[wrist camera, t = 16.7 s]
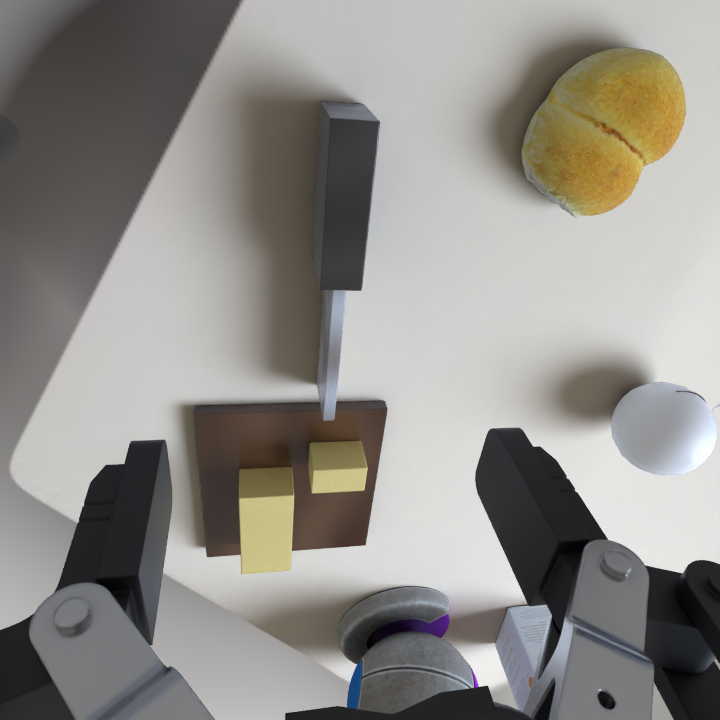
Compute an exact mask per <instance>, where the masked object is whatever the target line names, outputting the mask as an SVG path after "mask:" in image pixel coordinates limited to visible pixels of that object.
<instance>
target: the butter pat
mask: <svg viewBox="0 0 720 720" xmlns="http://www.w3.org/2000/svg"><path fill="white" fill-rule="evenodd" d="M308 467H309V476H310V484H311V492H312V493H330V492H348V491H364V489H365V482H366V475H367V469H368V468H367V464H366V460H365V455H364V451H363V447H362V443H361V441H340V442H313V443H310V446H309V461H308Z"/></svg>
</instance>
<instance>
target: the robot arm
mask: <svg viewBox="0 0 720 720" xmlns="http://www.w3.org/2000/svg"><path fill="white" fill-rule="evenodd" d="M475 481H476V488H477V492H478V495H479V497H480V499H481V502H482V504H483V506H484V508H485V510H486V513H487V515H488V517H489V519H490V521H491V524H492V526H493V528H494V530H495V532H496V535H497V537H498V539H499V541H500V543H501V546H502V548H503V550H504V552H505V554H506V557H507V559H508V561H509V563H510V565H511V568H512V570H513V572H514V574H515V577H516V579H517V581H518V583H519V585H520V588H521V590H522V592H523V594H524V596H525V599H526V601H527V603H528V605H529V607H530V606H539V605H547V607H548V609H549V611H550V613H551V615H550V617H549V619H548V622H547V625H546V630H545V634H544V638H543V642H542V646H541V650H540V654H539V659H538V663H537V667H536V671H535V675H534V679H533V683H532V687H531V691H530V694H529V697H528V700H527V702H526V705H525V707H524V710H523V712H521V711H519V710H517V709H514V708H512V707H510V706H507V705H503V704H500V703H496V702H493V700H492V697H491V694H490V691H489V688H488V686H483V687H475V688H468V689H461V690H453V691H446V692H440V693H438V694H436V695H434V696H432V697H430V698H427V699H425V700H423V701H421V702H419V703H417V704H415V705H413V706H410V707H408V708H406V709H404V710H402V711H400V712H397V713H393V714H387V713H381V712H374V711H367V710H360V709H354V708H347V707H340V706H336V707H328V708H321V709H314V710H306V711H299V712H292V713H286V714H285V720H652V703H653V685H654V683H655V685H656V687H657V689H658V690H659V692H660V694H661V696H662V698H663V700H664V702H665V704H666V706H667V708H668V709H669V711H670V713H671V715H672V717H673V719H674V720H720V670H719V668H718V667H717V665H716V663H715V662H714V660H715V659H717V660H718V662H719V663H720V564H717V563H714V562H711V561H706V560H698V561H694V562H692V563H690V564H689V565H688V566H687V568H686V569H685V571H684V572H683V574H682V573H678V572H673V571H668V570H663V569H659V568H654V567H649V566H646V565H644V563H643V562H642V561H641V559H640V558H639V557H638V556H637V555H636V554H635V553H634V552H632V551H631V550H630V549H628V548H627V547H625V546H623V545H621V544H619V543H616V542H614V541H610V540H608V539H607V537H606V536H605V534H604V533H603V531H602V530H601V528H600V527H599V525H598V523H597V522H596V520H595V519H594V517H593V516H592V514H591V513H590V511H589V510H588V508H587V507H586V505H585V504H584V502H583V500H582V499H581V497H580V496H579V494H578V493H577V492H575V488H574V487H573V485H572V484H571V482H570V480H569V479H567V478H566V474H565V473H564V471H563V470H562V468H561V467H560V465H559V464H558V462H557V460H555V459H554V458H553V457H552V456H551V455H549V454H548V453H547V452H546V451H545V450H544V449H542V448H541V447H533V446H532V444H531V443H530V441H529V440H528V438H527V436H526V435H525V433H524V432H523V430H522V429H520V428H495V429H490V430H489V431H488V433H487V436H486V439H485V443H484V446H483V449H482V453H481V456H480V459H479V463H478V466H477V469H476V476H475ZM171 510H172V484H171V476H170V468H169V460H168V452H167V444H166V441H165V440H147V441H131V443H130V445H129V448H128V452H127V456H126V460H125V464H118V465H105V467H104V468H103V469H102V470H101V471H100V472H99V473H98V475H97V476H96V477H95V478H94V479H93V480H92V481H91V483H90V486H89V489H88V492H87V495H86V498H85V502H84V506H83V508H82V511H81V514H80V517H79V523H78V524H77V527H76V530H75V534H74V537H73V540H72V543H71V546H70V549H69V552H68V556H67V559H66V562H65V565H64V568H63V572H62V575H61V578H60V581H59V584H58V586H57V589H56V590H55V592H54V594H52V595H51V596H50V597H48V598H47V599H46V600H45V601H44V602H43V603H42V604H41V605H40V606H39V607H38V609H37V610H36V612H35V613H34V614H33V615H31V616H30V617H28V618H27V619H25V620H23V621H21V622H19V623H17V624H15V625H12V626H10V627H8V628H5V629H2V630H0V720H215V719H214V718H213V716H212V715H211V714H210V712H209V711H208V710H207V708H206V707H205V706H204V704H203V703H202V702H201V700H200V699H199V698H198V696H197V695H196V694H195V692H194V691H193V690H192V688H191V687H190V686H189V684H188V683H187V682H186V680H185V679H184V678H183V677H182V675H181V674H180V673H179V672H178V671H177V670H176V669H175V668H173V667H171V666H170V667H169V668H168V667H166V666H165V665H164V664H163V663H162V662H161V661H160V659H159V658H158V657H157V655H156V654H155V653H154V651H153V650H152V648H151V647H150V646H149V645H152V643H153V636H154V629H155V622H156V614H157V608H158V602H159V595H160V588H161V580H162V574H163V567H164V560H165V553H166V546H167V539H168V532H169V525H170V518H171Z"/></svg>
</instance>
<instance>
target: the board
mask: <svg viewBox="0 0 720 720" xmlns="http://www.w3.org/2000/svg"><path fill="white" fill-rule="evenodd" d="M387 410H388V409H387V406H386V403H385V401H373V402H336V408H335V419H334V420H329V421H323V419H322V413H321V407H320V403H293V404H253V405H212V406H195V410H194V421H195V432H196V443H197V454H198V465H199V476H200V487H201V498H202V509H203V520H204V531H205V542H206V553H207V557H216V556H229V555H241V548H240V520H239V470H240V469H252V468H274V467H292V475H293V487H294V511H293V533H292V551H296V550H309V549H322V548H336V547H349V546H362V545H366V539H367V533H368V527H369V521H370V515H371V509H372V502H373V496H374V490H375V484H376V478H377V471H378V465H379V459H380V453H381V447H382V441H383V434H384V428H385V422H386V416H387ZM340 441H361V443H362V447H363V451H364V455H365V460H366V464H367V468H368V469H367V475H366V482H365V489H364V491H348V492H330V493H312V492H311V484H310V476H309V467H308V461H309V446H310V443H313V442H340Z"/></svg>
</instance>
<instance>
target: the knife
mask: <svg viewBox="0 0 720 720" xmlns="http://www.w3.org/2000/svg"><path fill="white" fill-rule="evenodd" d="M379 128H380V121H379V120H378V119H377V118H376V117H375V116H374V115H373V114H372V113H371V111H370V110H369V109H368V108H367V107H366V106H365V105H364V104H352V103H340V102H327V101H321V103H320V123H319V142H318V162H317V181H316V200H315V220H314V239H313V261H314V266H315V270H316V274H317V279H318V283H319V288H320V290H323V301H322V316H321V331H320V347H319V362H318V377H317V388H318V394H319V400H320V407H321V413H322V419H323V421H329V420H334V419H335V408H336V397H337V386H338V375H339V364H340V353H341V342H342V331H343V320H344V309H345V298H346V290H353V291H361V290H362V284H363V275H364V266H365V256H366V247H367V238H368V229H369V220H370V210H371V201H372V192H373V183H374V174H375V165H376V155H377V146H378V137H379Z"/></svg>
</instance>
